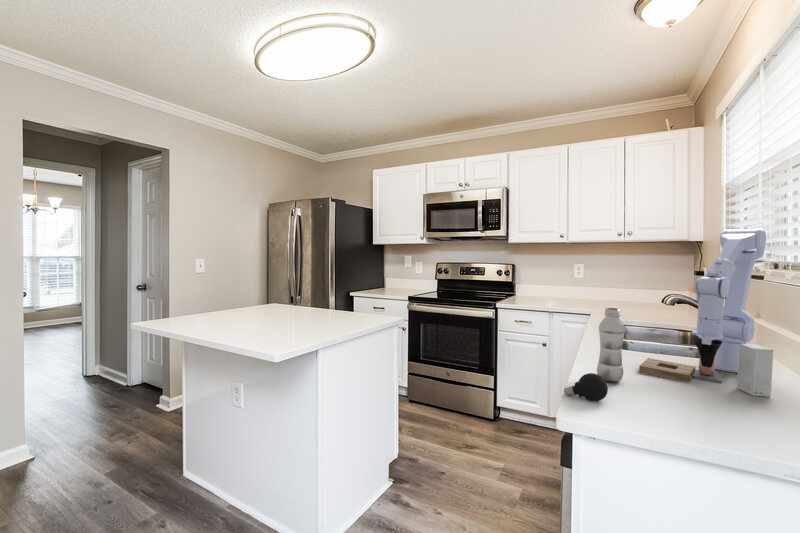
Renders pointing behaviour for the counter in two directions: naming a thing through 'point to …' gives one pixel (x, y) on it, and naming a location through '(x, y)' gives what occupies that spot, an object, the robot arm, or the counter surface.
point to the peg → (707, 368)
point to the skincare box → (755, 369)
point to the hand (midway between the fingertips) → (707, 365)
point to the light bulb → (589, 387)
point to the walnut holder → (667, 369)
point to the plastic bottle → (611, 346)
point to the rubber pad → (708, 376)
